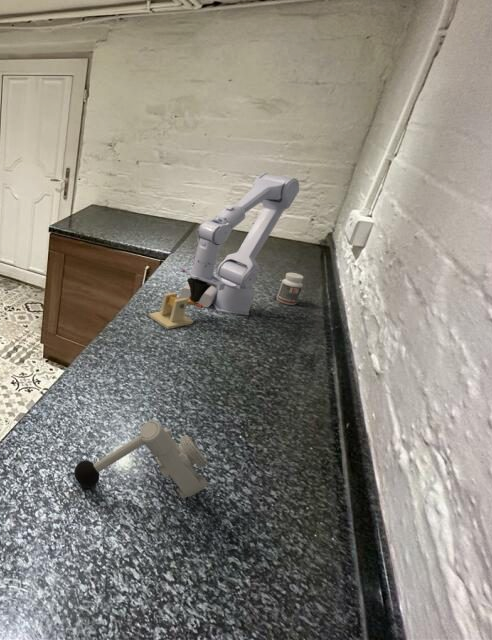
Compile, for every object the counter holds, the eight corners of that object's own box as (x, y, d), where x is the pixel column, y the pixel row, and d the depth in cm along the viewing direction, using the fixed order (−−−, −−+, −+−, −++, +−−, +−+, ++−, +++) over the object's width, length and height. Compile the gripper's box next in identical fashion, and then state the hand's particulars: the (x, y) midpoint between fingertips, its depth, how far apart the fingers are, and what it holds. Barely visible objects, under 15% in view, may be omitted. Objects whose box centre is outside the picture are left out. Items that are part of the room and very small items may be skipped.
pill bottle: (299, 306, 133) (309, 279, 130) (280, 304, 134) (289, 277, 131) (290, 298, 139) (300, 272, 135) (272, 296, 140) (281, 271, 136)
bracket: (172, 311, 128) (177, 288, 125) (192, 324, 121) (199, 300, 118) (148, 316, 124) (153, 293, 121) (167, 329, 117) (173, 305, 114)
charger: (221, 294, 140) (208, 308, 130) (193, 286, 146) (179, 299, 136) (224, 281, 138) (211, 295, 128) (196, 274, 144) (181, 287, 134)
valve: (108, 497, 77) (63, 450, 74) (196, 444, 74) (154, 392, 70) (127, 550, 68) (77, 499, 64) (230, 492, 64) (183, 434, 60)
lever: (187, 302, 127) (190, 295, 126) (201, 310, 122) (204, 303, 121) (163, 301, 122) (165, 294, 121) (177, 309, 117) (180, 302, 117)
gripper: (176, 253, 123) (167, 292, 128) (216, 271, 111) (205, 314, 116) (192, 251, 126) (183, 289, 131) (234, 268, 113) (222, 310, 118)
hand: (194, 300), depth 124 cm, fingers closed, pressing on lever
